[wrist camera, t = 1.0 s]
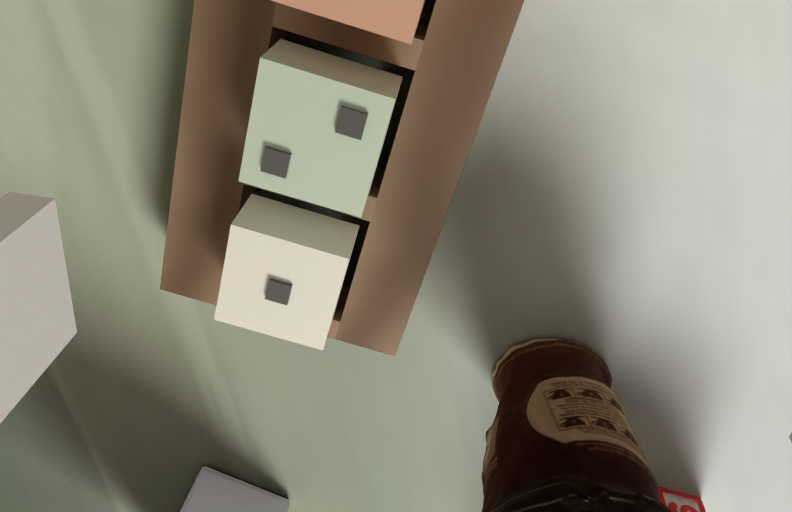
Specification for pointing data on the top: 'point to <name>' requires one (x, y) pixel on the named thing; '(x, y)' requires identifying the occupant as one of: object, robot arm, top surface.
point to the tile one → (284, 271)
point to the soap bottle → (230, 495)
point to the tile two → (317, 126)
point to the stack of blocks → (680, 501)
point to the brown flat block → (391, 188)
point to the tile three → (368, 14)
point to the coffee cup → (562, 436)
